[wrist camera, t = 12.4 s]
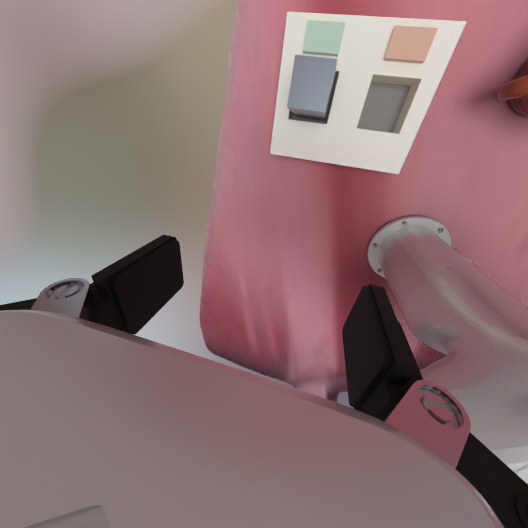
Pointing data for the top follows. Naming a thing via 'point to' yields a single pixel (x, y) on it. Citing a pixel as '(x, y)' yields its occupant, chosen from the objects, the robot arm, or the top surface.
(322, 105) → the dark grey rectangular prism
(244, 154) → the top surface
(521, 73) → the mug
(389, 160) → the socket block
